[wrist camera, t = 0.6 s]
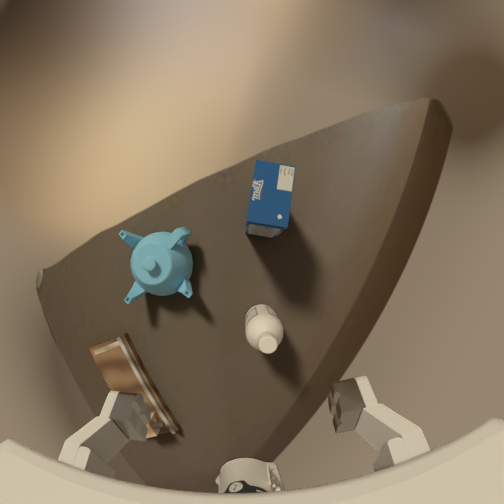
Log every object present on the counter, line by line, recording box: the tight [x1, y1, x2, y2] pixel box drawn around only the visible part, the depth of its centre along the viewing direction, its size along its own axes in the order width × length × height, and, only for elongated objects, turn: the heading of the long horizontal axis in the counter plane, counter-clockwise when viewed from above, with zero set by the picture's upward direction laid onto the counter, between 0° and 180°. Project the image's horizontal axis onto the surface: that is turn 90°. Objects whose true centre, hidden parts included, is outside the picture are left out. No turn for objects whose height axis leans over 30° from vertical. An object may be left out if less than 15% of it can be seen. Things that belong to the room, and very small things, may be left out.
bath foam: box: [245, 305, 283, 354], centre depth 51 cm, size 7×7×20 cm
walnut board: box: [89, 333, 180, 435], centre depth 57 cm, size 28×12×4 cm, turn 24°
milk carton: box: [246, 160, 295, 238], centre depth 51 cm, size 10×6×20 cm, turn 171°
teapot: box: [119, 226, 193, 304], centre depth 55 cm, size 15×15×11 cm
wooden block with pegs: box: [146, 412, 165, 438], centre depth 54 cm, size 4×11×6 cm, turn 114°
